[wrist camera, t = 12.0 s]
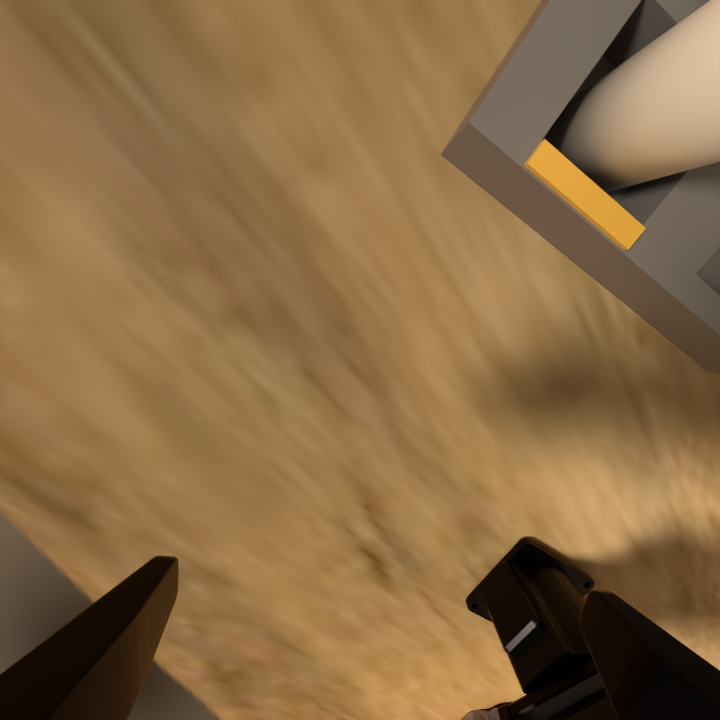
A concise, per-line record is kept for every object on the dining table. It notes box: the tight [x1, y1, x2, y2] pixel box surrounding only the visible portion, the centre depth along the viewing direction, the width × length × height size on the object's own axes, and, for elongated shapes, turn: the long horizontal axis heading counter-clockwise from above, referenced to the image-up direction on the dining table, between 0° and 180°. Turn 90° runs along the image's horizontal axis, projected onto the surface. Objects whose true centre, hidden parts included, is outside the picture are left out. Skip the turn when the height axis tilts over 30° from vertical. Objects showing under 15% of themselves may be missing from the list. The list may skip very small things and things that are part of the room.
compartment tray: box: [441, 0, 720, 374], centre depth 16 cm, size 20×8×4 cm, turn 56°
